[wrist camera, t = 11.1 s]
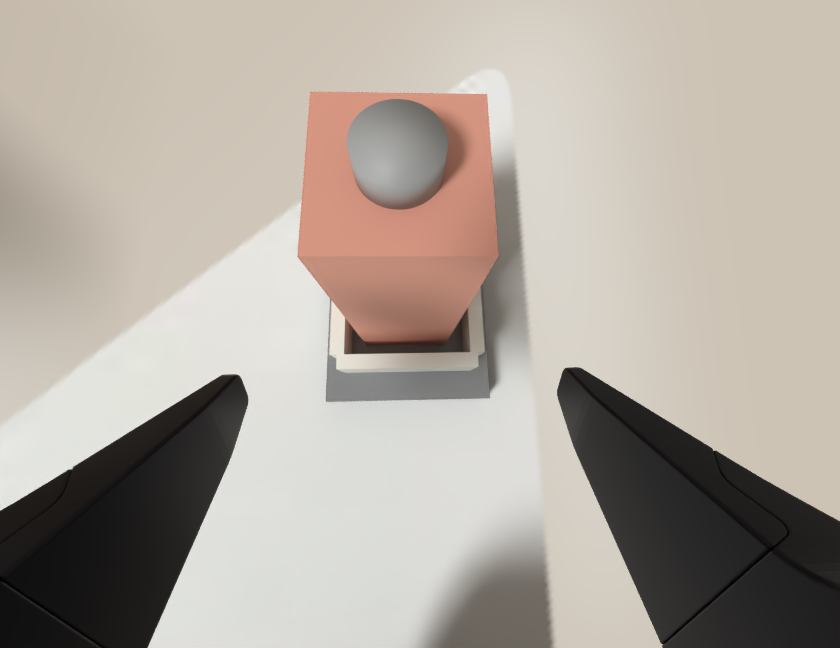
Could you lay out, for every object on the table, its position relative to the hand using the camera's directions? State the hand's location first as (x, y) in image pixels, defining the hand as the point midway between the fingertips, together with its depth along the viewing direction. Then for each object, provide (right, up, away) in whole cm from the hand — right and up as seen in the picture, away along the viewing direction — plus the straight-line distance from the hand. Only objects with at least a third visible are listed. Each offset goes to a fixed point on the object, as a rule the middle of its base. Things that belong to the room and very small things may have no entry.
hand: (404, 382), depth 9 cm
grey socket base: (0, +3, +14) cm, 14 cm away
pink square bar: (-1, +3, +12) cm, 12 cm away
